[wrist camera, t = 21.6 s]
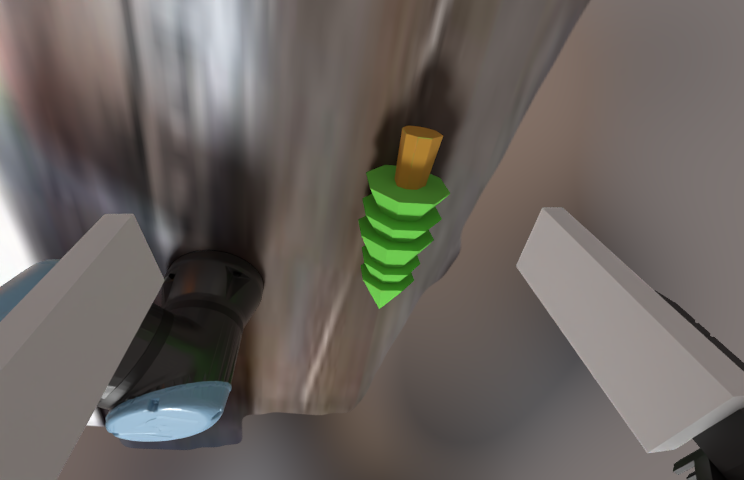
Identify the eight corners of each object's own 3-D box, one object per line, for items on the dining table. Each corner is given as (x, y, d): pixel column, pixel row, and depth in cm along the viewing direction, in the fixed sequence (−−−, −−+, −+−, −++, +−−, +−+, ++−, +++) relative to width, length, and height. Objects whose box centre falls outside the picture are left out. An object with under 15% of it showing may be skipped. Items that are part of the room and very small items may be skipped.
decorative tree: (465, 157, 32) (404, 344, 49) (467, 130, 42) (415, 295, 58) (358, 132, 34) (335, 322, 51) (383, 111, 43) (356, 278, 60)
